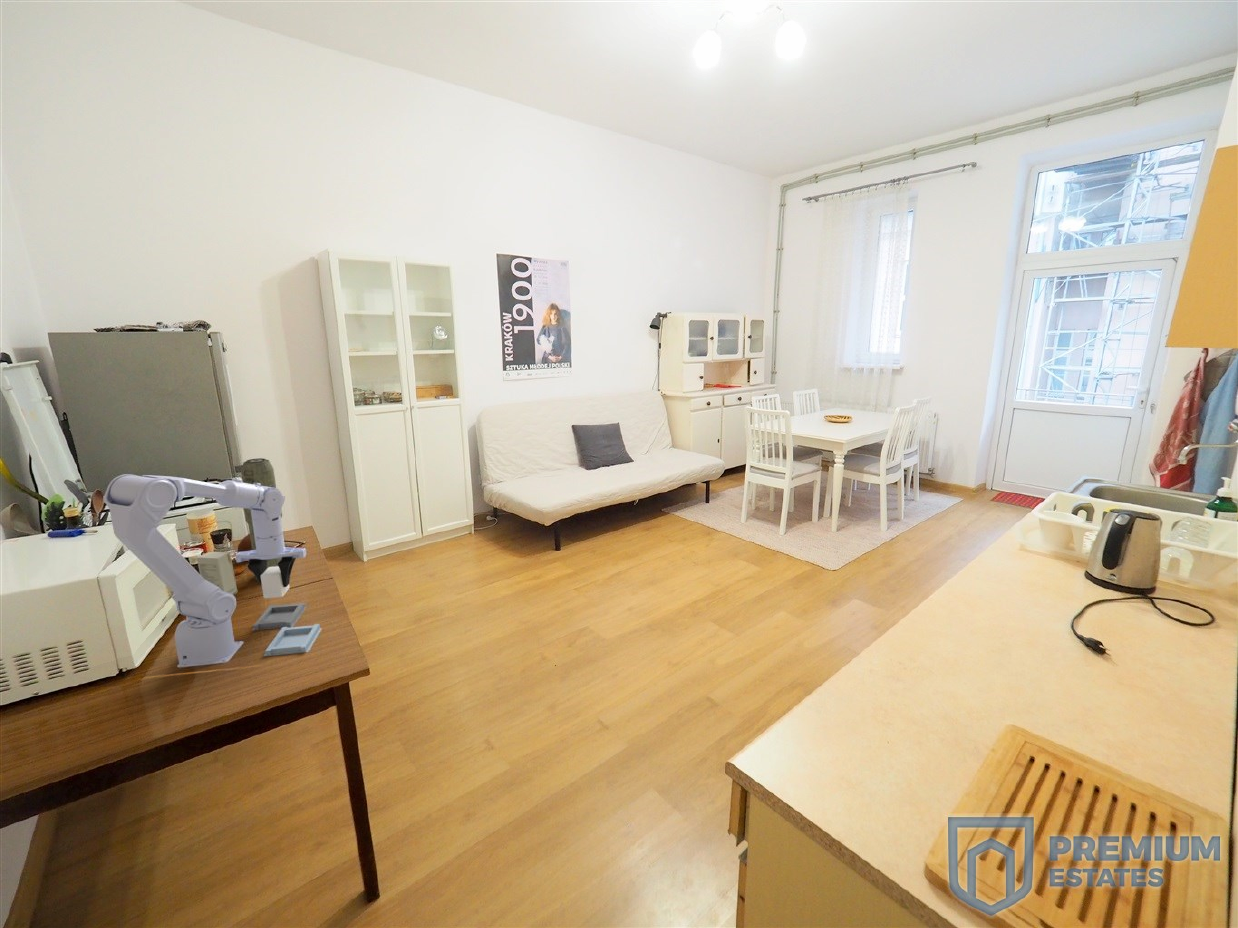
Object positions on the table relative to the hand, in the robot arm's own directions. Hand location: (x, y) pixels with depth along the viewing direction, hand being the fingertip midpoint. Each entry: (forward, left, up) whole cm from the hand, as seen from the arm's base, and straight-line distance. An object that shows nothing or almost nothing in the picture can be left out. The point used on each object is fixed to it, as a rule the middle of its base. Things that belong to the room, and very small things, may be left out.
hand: (276, 586), depth 128 cm
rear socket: (0, 0, -9) cm, 9 cm away
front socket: (+7, -12, -9) cm, 17 cm away
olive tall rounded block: (-12, +28, -9) cm, 32 cm away
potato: (-22, +44, -9) cm, 50 cm away
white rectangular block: (0, 0, -2) cm, 2 cm away
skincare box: (-20, +16, -9) cm, 27 cm away
